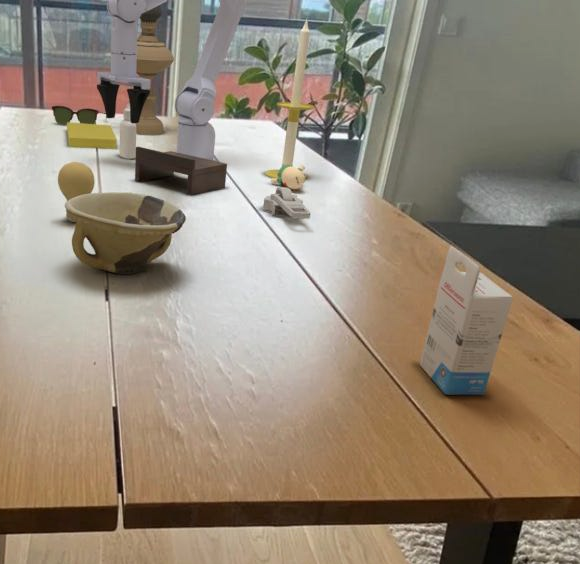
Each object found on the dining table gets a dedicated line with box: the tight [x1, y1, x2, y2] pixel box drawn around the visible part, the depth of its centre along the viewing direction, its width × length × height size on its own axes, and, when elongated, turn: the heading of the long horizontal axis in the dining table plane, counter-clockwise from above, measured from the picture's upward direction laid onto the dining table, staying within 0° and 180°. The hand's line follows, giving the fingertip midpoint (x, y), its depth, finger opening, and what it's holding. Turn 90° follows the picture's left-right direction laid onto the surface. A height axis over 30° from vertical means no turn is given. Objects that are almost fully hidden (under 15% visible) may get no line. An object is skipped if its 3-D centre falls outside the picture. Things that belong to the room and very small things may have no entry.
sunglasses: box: [51, 105, 108, 126], centre depth 229 cm, size 14×15×5 cm
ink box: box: [419, 245, 514, 396], centre depth 87 cm, size 9×5×15 cm, turn 5°
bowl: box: [64, 191, 187, 275], centre depth 115 cm, size 18×18×10 cm
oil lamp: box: [135, 4, 175, 136], centre depth 213 cm, size 15×15×40 cm
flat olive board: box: [66, 121, 117, 150], centre depth 207 cm, size 12×2×24 cm
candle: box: [264, 19, 315, 180], centre depth 175 cm, size 10×10×32 cm
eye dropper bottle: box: [118, 103, 137, 160], centre depth 187 cm, size 4×6×12 cm
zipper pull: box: [262, 186, 312, 219], centre depth 149 cm, size 8×18×4 cm, turn 7°
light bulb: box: [57, 161, 96, 223], centre depth 136 cm, size 6×6×10 cm
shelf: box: [134, 146, 228, 196], centre depth 167 cm, size 12×16×7 cm
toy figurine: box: [270, 164, 306, 191], centre depth 172 cm, size 8×4×12 cm
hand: (122, 120), depth 177 cm, fingers open, 7 cm apart
